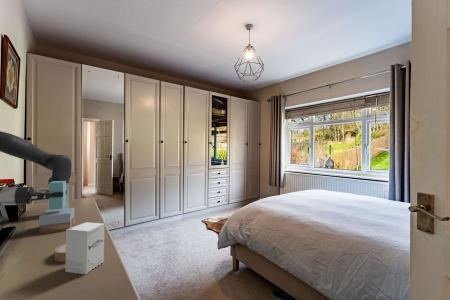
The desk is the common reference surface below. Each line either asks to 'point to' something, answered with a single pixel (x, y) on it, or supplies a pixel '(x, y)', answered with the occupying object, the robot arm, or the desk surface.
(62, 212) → the tower top
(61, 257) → the alarm clock
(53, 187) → the teal block
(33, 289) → the desk surface
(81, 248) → the supplement box
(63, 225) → the block
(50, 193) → the robot arm
